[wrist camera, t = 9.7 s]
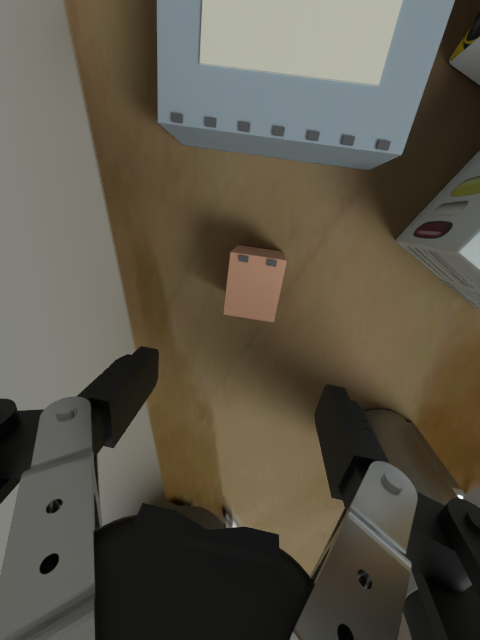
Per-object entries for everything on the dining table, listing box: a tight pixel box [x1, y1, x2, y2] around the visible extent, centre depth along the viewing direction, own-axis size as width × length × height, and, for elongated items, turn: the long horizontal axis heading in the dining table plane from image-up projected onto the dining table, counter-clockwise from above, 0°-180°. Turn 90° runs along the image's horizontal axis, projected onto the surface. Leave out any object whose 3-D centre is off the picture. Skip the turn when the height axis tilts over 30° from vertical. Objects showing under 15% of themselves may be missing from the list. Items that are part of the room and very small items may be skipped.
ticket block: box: [157, 0, 455, 170], centre depth 18 cm, size 18×10×6 cm, turn 82°
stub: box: [224, 245, 287, 322], centre depth 25 cm, size 5×6×6 cm
